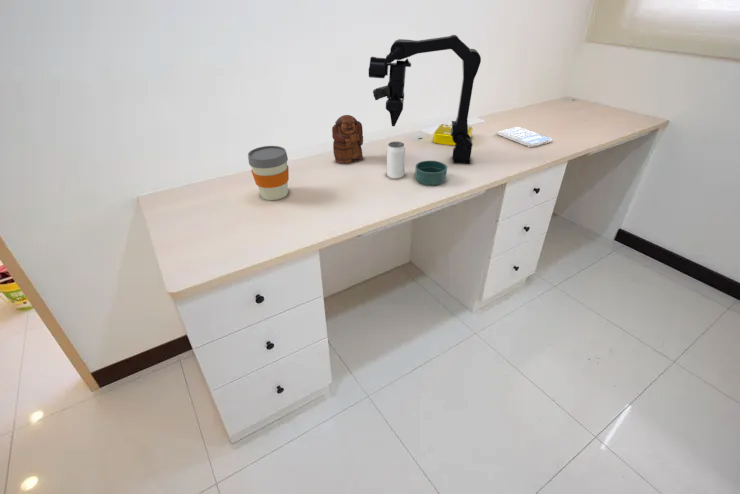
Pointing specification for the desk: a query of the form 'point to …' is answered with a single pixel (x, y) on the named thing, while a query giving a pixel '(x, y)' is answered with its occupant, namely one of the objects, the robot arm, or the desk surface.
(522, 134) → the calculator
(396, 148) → the can
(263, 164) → the reusable coffee cup
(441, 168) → the bowl
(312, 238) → the desk surface
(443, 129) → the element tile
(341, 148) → the wooden figurine
